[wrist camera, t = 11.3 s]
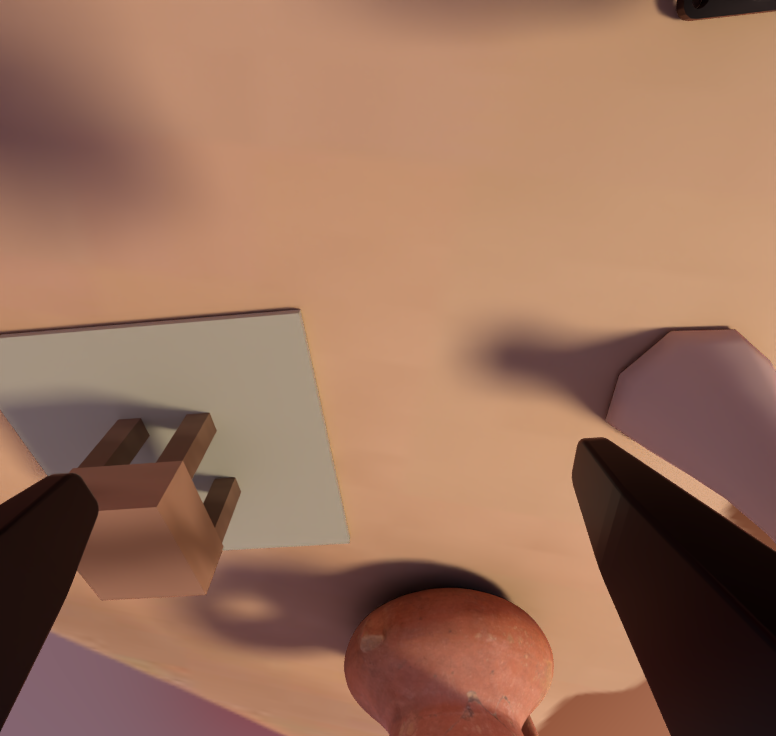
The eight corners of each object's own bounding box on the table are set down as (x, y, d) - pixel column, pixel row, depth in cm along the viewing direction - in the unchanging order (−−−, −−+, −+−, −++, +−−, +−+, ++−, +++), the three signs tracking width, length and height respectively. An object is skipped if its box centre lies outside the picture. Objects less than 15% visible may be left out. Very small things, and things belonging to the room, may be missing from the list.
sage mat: (300, 309, 19) (298, 313, 19) (349, 537, 28) (349, 543, 27) (-41, 338, 20) (-49, 342, 20) (109, 551, 28) (105, 557, 28)
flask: (578, 426, 23) (690, 621, 14) (662, 305, 19) (879, 472, 11) (695, 455, 24) (862, 652, 15) (795, 346, 20) (1089, 527, 12)
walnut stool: (243, 493, 25) (206, 594, 20) (159, 498, 25) (101, 600, 20) (210, 410, 22) (156, 507, 17) (115, 418, 22) (32, 515, 17)
